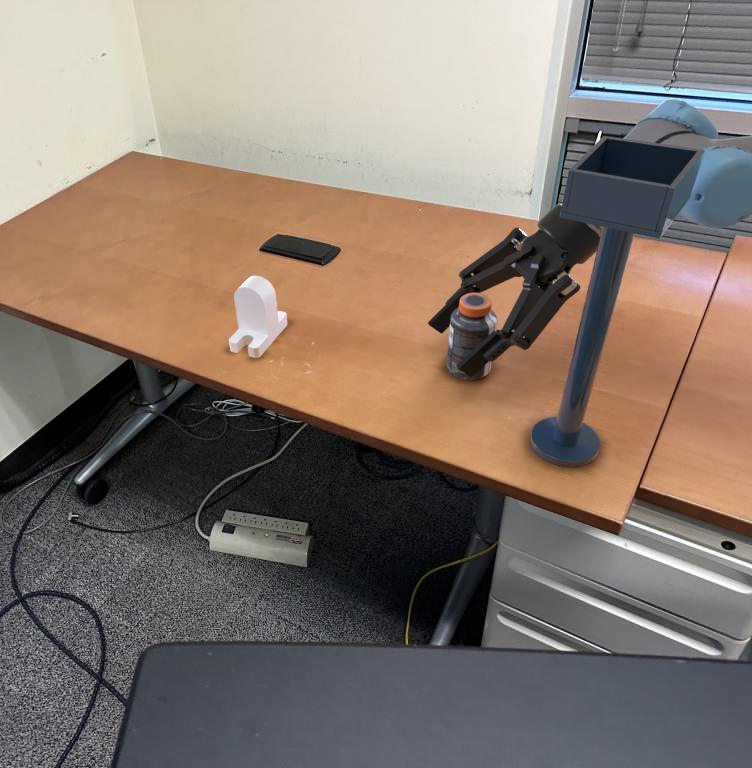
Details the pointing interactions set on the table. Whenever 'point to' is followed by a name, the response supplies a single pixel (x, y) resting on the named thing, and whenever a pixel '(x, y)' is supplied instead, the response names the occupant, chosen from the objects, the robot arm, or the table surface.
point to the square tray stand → (610, 263)
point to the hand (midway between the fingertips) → (448, 349)
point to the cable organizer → (256, 317)
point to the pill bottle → (469, 331)
